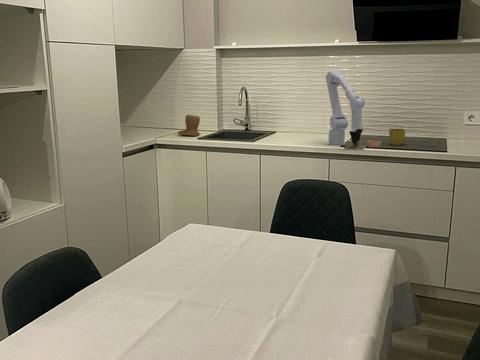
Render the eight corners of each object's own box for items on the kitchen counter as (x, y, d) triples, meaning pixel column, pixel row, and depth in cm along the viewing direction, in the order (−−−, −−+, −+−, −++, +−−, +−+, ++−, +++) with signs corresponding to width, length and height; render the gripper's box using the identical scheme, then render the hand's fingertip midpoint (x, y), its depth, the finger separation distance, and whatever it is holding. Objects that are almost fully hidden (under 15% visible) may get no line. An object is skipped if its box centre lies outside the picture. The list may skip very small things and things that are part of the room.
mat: (344, 148, 281) (344, 147, 281) (348, 145, 291) (348, 145, 291) (363, 149, 277) (363, 149, 277) (366, 146, 286) (366, 145, 286)
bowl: (365, 147, 285) (366, 142, 284) (368, 145, 292) (368, 140, 291) (379, 147, 282) (379, 142, 281) (381, 145, 288) (381, 140, 288)
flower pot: (404, 145, 286) (405, 130, 284) (389, 145, 288) (390, 130, 286) (403, 143, 295) (403, 128, 293) (388, 143, 297) (388, 128, 295)
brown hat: (204, 135, 347) (203, 114, 344) (194, 137, 337) (193, 115, 334) (186, 134, 355) (186, 113, 351) (177, 136, 345) (175, 115, 341)
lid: (347, 147, 281) (347, 141, 280) (349, 145, 289) (349, 139, 288) (362, 148, 278) (362, 141, 277) (364, 146, 286) (364, 139, 285)
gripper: (361, 120, 272) (360, 144, 275) (366, 118, 285) (365, 140, 288) (348, 120, 275) (347, 144, 278) (354, 117, 288) (353, 140, 291)
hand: (355, 142), depth 283 cm, fingers open, 7 cm apart
